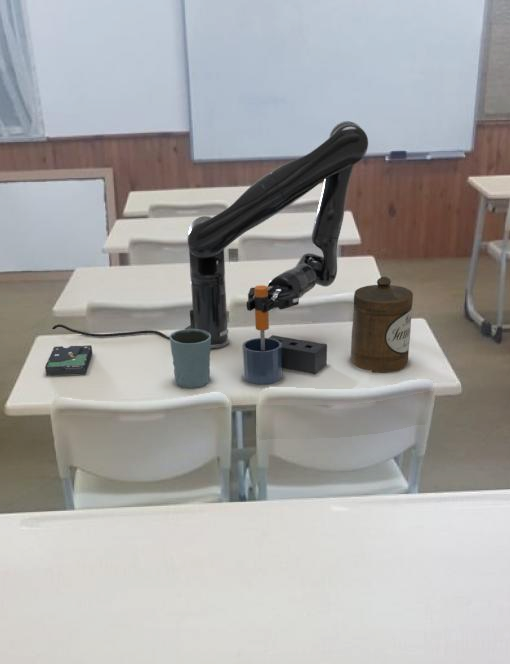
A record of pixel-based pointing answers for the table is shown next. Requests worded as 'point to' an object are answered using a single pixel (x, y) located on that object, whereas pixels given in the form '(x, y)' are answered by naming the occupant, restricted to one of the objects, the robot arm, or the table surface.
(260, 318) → the screwdriver
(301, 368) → the holder
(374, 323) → the wooden container
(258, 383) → the pencil cup
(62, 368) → the disk drive
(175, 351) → the grey-green cup
